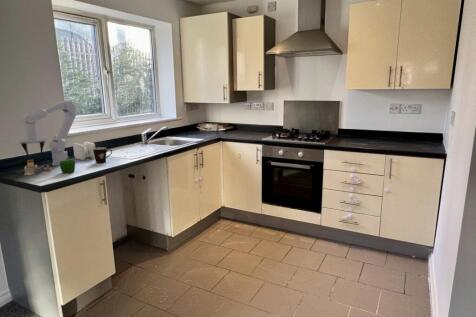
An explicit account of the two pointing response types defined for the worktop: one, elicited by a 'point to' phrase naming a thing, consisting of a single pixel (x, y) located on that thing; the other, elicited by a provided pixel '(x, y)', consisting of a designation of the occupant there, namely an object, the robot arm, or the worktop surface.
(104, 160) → the coffee mug
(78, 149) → the white lumpy block
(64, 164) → the bell pepper
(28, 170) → the end holder
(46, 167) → the board
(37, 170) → the clip
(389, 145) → the worktop surface
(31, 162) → the connector plug
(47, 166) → the clip
